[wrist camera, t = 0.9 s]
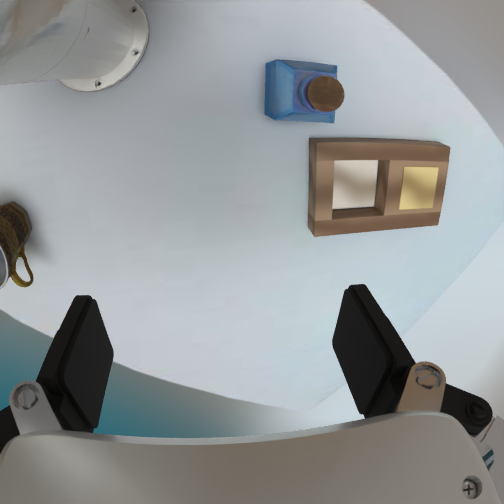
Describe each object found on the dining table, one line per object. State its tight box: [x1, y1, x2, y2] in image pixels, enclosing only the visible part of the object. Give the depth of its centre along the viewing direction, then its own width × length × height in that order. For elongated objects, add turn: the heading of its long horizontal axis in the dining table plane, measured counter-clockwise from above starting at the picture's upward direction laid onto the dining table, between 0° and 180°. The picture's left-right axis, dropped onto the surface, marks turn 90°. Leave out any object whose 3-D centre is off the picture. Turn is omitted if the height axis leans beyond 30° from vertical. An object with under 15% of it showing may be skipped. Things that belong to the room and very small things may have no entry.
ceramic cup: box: [0, 202, 33, 289], centre depth 32 cm, size 13×10×10 cm
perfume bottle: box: [265, 60, 344, 123], centre depth 28 cm, size 6×6×12 cm
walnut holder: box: [308, 138, 450, 237], centre depth 39 cm, size 12×20×3 cm, turn 93°
